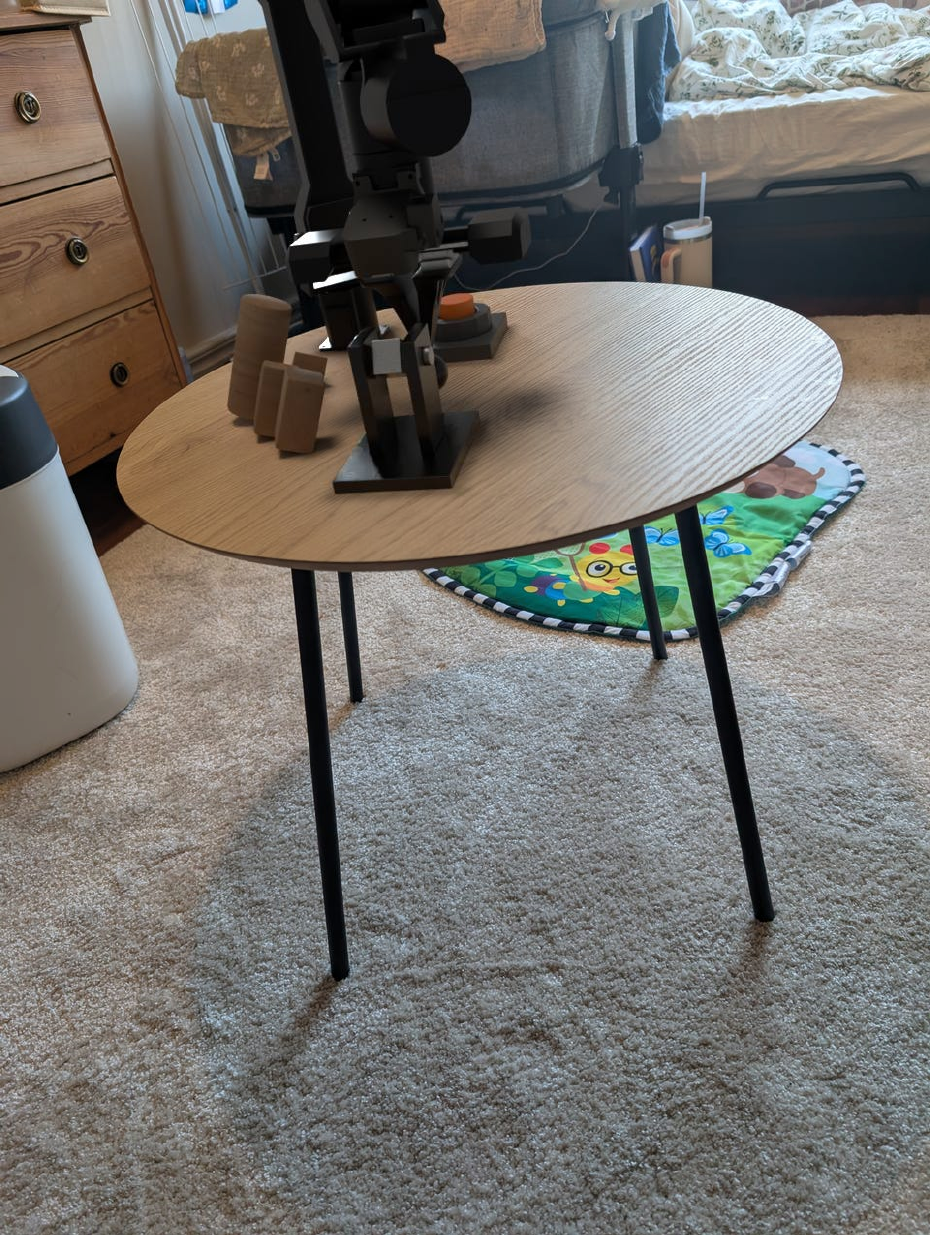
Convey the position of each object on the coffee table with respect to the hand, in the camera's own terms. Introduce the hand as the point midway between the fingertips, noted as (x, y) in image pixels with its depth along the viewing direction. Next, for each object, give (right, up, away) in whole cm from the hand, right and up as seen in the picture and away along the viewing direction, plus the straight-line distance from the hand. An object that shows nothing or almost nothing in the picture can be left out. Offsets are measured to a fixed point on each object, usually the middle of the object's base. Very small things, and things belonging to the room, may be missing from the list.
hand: (426, 354), depth 75 cm
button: (+2, +8, +15) cm, 17 cm away
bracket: (-1, -9, -4) cm, 11 cm away
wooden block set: (-13, -4, +6) cm, 15 cm away
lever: (-1, -4, -4) cm, 5 cm away
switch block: (+3, +6, +16) cm, 18 cm away
